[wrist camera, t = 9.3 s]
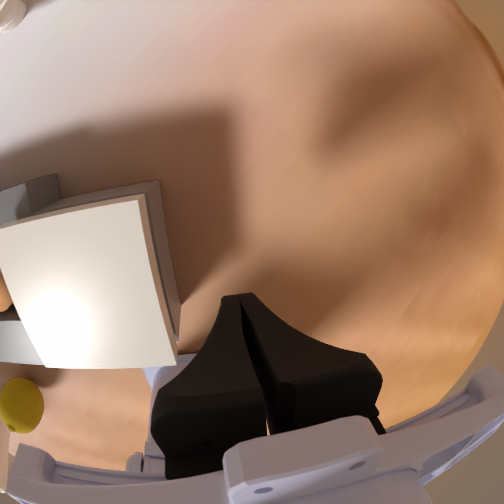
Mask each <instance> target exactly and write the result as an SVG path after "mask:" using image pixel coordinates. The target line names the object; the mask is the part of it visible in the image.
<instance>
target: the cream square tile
mask: <svg viewBox="0 0 504 504" xmlns="http://www.w3.org/2000/svg"><path fill="white" fill-rule="evenodd" d="M0 268H1V271H2V274H3V277H4V280H5V282H6V285H7V288H8V290H9V293H10V295H11V298H12V300H13V303H14V305H15V307H16V310H17V312H18V314H19V317H20V319H21V321H22V323H23V325H24V327H25V329H26V331H27V333H28V335H29V337H30V339H31V341H32V343H33V345H34V347H35V349H36V351H37V353H38V355H39V356H40V358H41V360H42V362H43V363H44V365H45V367H47V368H73V369H115V368H142V367H159V366H173V365H177V353H178V347H177V344H176V340H175V337H174V333H173V329H172V326H171V322H170V318H169V314H168V310H167V306H166V302H165V298H164V294H163V289H162V285H161V281H160V276H159V272H158V267H157V262H156V257H155V252H154V247H153V242H152V236H151V231H150V225H149V220H148V213H147V207H146V201H145V194H139V195H133V196H127V197H121V198H116V199H110V200H105V201H99V202H94V203H89V204H84V205H79V206H75V207H70V208H65V209H61V210H56V211H52V212H47V213H43V214H39V215H35V216H31V217H27V218H23V219H19V220H15V221H12V222H8V223H4V224H2V225H1V226H0Z"/></svg>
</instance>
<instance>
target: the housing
mask: <svg viewBox="0 0 504 504" xmlns="http://www.w3.org/2000/svg"><path fill="white" fill-rule="evenodd" d="M139 194H145V201H146V207H147V213H148V220H149V225H150V231H151V236H152V242H153V247H154V252H155V257H156V262H157V267H158V272H159V276H160V281H161V285H162V289H163V294H164V298H165V302H166V306H167V310H168V314H169V318H170V322H171V326H172V329H173V333H174V337H175V340H176V341H178V338H179V325H180V313H181V303H180V298H179V293H178V289H177V284H176V279H175V274H174V269H173V263H172V258H171V252H170V247H169V241H168V235H167V229H166V223H165V216H164V210H163V203H162V196H161V188H160V180H157V181H150V182H144V183H138V184H132V185H126V186H121V187H115V188H110V189H105V190H100V191H95V192H90V193H85V194H80V195H76V196H71V197H67V198H63V199H61V197H60V191H59V185H58V179H57V173H55V174H52V175H48V176H45V177H41V178H38V179H35V180H31V181H28V182H25V183H22V184H19V185H16V186H13V187H10V188H7V189H4V190H2V191H0V226H1V225H2V224H4V223H8V222H12V221H15V220H19V219H23V218H27V217H31V216H35V215H39V214H43V213H47V212H52V211H56V210H61V209H65V208H70V207H75V206H79V205H84V204H89V203H94V202H99V201H105V200H110V199H116V198H121V197H127V196H133V195H139ZM0 269H1V268H0ZM1 272H2V271H1ZM2 275H3V274H2ZM3 278H4V277H3ZM5 283H6V282H5ZM6 286H7V285H6ZM8 291H9V290H8ZM9 294H10V293H9ZM10 296H11V295H10ZM11 299H12V298H11ZM12 301H13V300H12ZM0 362H10V363H21V364H34V365H44V363H43V362H42V360H41V358H40V356H39V355H38V353H37V351H36V349H35V347H34V345H33V343H32V341H31V339H30V337H29V335H28V333H27V331H26V329H25V327H24V325H23V323H22V321H21V319H20V317H19V314H18V312H17V310H16V307H15V305H14V303H12V304H11V305H10V306H9V308H8V309H7V310H5V311H3V312H0Z"/></svg>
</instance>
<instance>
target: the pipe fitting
mask: <svg viewBox="0 0 504 504" xmlns="http://www.w3.org/2000/svg"><path fill="white" fill-rule="evenodd" d="M26 10H27V6H26V4H25V3H24V2H23V1H22V0H0V32H4V33H5V32H9V31H11V30H13V29H14V28H15V27H16V26H17V25H18V24H19V23H20V22H21V20H22V19H23V17H24V15H25V13H26Z"/></svg>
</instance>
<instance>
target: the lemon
mask: <svg viewBox="0 0 504 504" xmlns="http://www.w3.org/2000/svg"><path fill="white" fill-rule="evenodd" d="M43 411H44V401H43V397H42V394H41V392H40V390H39V389H38V387H37V386H36V385H35V384H34V382H33V381H32V380H28V379H25V378H21V377H17V378H13V379H11V380H9V381H8V382H7V383H6V384H5V385H4V387H3V388H2V391H1V393H0V416H1V418H2V420H3V422H4V423H5V424H6V425H7V427H8V429H9V430H10V431H11V432H17V433H29V432H31V431H33V430H34V429H35V428H36V427H37V425H38V424H39V422H40V420H41V418H42V415H43Z"/></svg>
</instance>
